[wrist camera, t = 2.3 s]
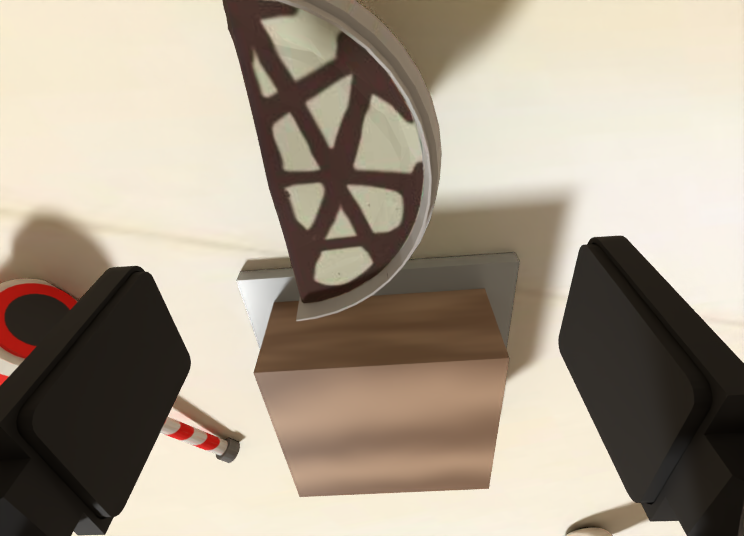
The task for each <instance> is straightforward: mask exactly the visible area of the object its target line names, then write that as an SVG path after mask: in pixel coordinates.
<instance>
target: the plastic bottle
mask: <svg viewBox="0 0 744 536" xmlns="http://www.w3.org/2000/svg"><path fill="white" fill-rule="evenodd" d="M566 536H613V535H612V534H610V533H609V532H608V531H607V530H605V529H602V528H583V529H579V530H576V531H573V532H571V533H569V534H567V535H566Z"/></svg>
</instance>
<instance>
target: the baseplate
mask: <svg viewBox="0 0 744 536" xmlns="http://www.w3.org/2000/svg"><path fill="white" fill-rule="evenodd" d="M519 262H520V261H519V259H518V257H517V255H516V253H515V252H514V253H500V254H486V255H471V256H457V257H442V258H428V259H413V260H408V261H407V262H406V263H405V265H404V266H403V267H402V268H401V270H400V271H399V272H398V273H397V274H396V275H395V276H394V277H393V278H392V280H391V281H390V282H388V283H387V284H386V285H385V286H384V287H382V288H381V289H380V290H379V291H377V292H376V293H375V294H374V295H372V296H378V295H393V294H408V293H423V292H439V291H454V290H469V289H484V288H485V290H486V293H487V296H488V299H489V302H490V305H491V307H492V310H493V313H494V316H495V319H496V322H497V324H498V327H499V330H500V333H501V336H502V339H503V342H504V344H505V347H506V349H507V342H508V335H509V329H510V322H511V315H512V309H513V302H514V295H515V288H516V282H517V275H518V268H519ZM236 281H237V284H238V287H239V290H240V293H241V296H242V299H243V302H244V305H245V307H246V310H247V313H248V316H249V319H250V322H251V325H252V328H253V331H254V334H255V337H256V340H257V343H258V345H259V348H260V349H261V345H262V342H263V338H264V335H265V331H266V328H267V324H268V321H269V317H270V314H271V310H272V307H273V303H274V302H286V301H299V298H300V294H299V291H298V287H297V283H296V279H295V276H294V272H293V268H284V269H269V270H255V271H240V273H239V276H238V278H237V280H236Z"/></svg>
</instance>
